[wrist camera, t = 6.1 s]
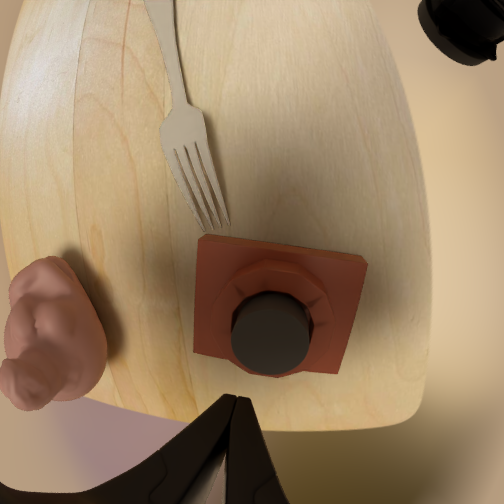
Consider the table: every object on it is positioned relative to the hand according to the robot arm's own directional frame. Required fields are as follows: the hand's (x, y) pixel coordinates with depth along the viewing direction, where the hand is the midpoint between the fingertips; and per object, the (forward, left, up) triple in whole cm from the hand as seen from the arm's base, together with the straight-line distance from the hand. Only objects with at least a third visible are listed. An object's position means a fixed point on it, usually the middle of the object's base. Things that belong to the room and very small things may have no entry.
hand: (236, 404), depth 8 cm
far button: (-1, +1, -8) cm, 8 cm away
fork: (+7, -13, -11) cm, 19 cm away
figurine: (+15, +5, -11) cm, 20 cm away
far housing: (-1, +1, -11) cm, 11 cm away
